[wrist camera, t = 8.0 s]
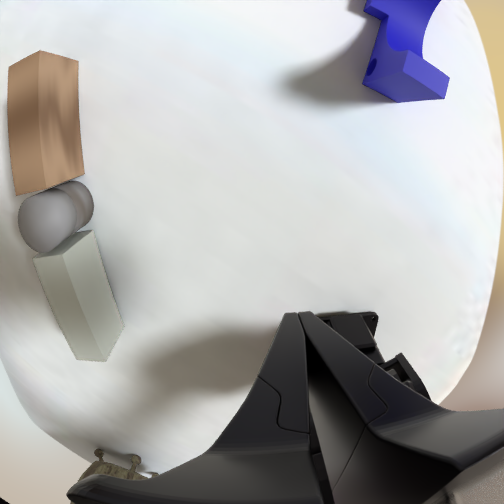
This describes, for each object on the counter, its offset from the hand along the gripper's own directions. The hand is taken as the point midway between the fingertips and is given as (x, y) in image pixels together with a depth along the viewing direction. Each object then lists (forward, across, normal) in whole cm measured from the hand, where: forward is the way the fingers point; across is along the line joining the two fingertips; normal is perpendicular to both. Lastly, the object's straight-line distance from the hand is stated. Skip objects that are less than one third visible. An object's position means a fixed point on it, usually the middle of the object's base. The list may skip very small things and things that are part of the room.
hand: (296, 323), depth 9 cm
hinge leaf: (+12, +15, +2) cm, 19 cm away
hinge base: (+12, +15, -7) cm, 20 cm away
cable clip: (+12, -10, -15) cm, 22 cm away
